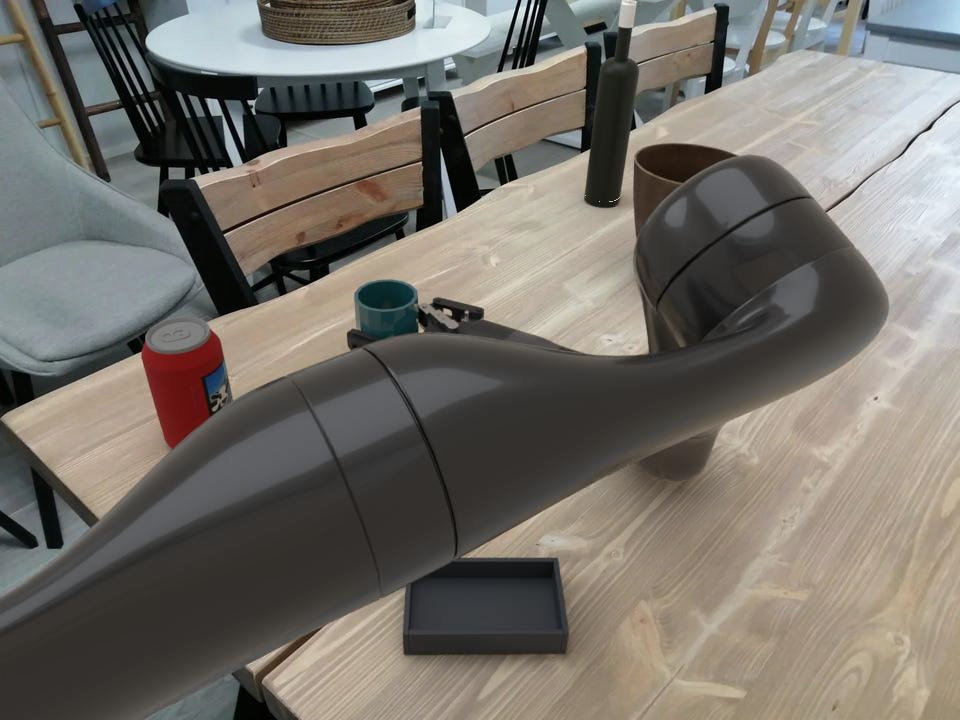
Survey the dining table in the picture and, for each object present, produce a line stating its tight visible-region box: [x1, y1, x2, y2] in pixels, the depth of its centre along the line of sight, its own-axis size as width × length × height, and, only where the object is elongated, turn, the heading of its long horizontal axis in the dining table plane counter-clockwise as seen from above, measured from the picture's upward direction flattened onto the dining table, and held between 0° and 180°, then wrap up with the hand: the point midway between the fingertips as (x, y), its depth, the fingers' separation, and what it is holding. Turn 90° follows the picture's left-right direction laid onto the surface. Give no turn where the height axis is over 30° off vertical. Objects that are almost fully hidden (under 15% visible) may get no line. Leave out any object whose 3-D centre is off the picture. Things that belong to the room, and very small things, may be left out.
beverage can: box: [140, 316, 234, 450], centre depth 68 cm, size 7×7×12 cm
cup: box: [353, 278, 420, 339], centre depth 78 cm, size 6×6×10 cm
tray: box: [402, 557, 570, 656], centre depth 56 cm, size 12×7×2 cm, turn 92°
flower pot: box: [632, 142, 739, 240], centre depth 97 cm, size 15×15×16 cm
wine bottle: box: [583, 0, 640, 208], centre depth 112 cm, size 6×6×30 cm
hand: (369, 322), depth 78 cm, fingers closed on cup, 6 cm apart
